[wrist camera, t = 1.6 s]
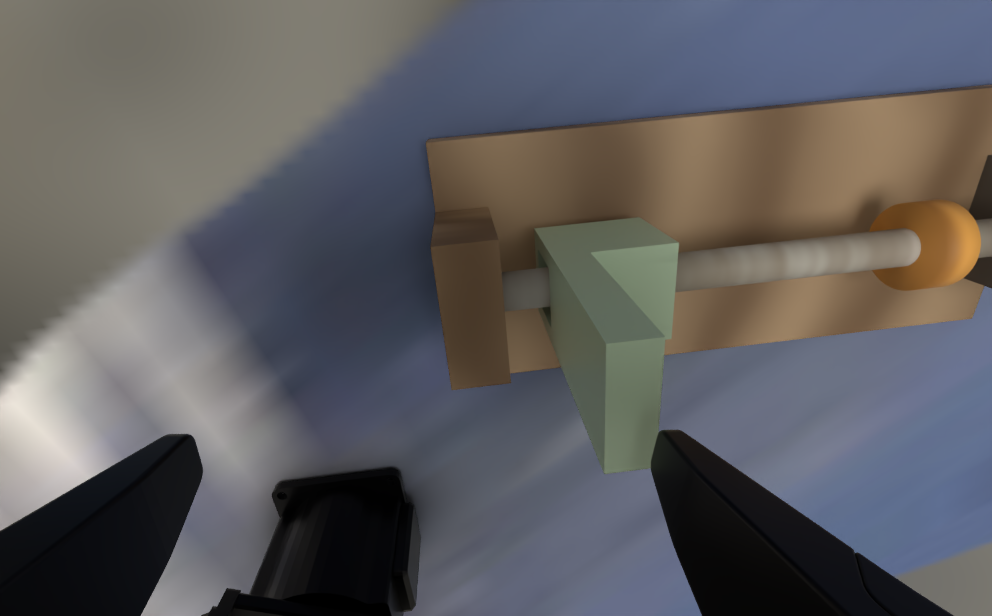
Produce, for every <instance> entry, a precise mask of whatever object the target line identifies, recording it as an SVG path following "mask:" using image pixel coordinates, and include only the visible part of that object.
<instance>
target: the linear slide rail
mask: <svg viewBox="0 0 992 616" xmlns="http://www.w3.org/2000/svg"><path fill="white" fill-rule="evenodd" d="M426 148H427V155H428V162H429V169H430V177H431V184H432V191H433V198H434V205H435V219H434V226H433V233H432V239H431V246H430V248H431V254H432V261H433V268H434V274H435V281H436V288H437V295H438V301H439V308H440V315H441V321H442V328H443V335H444V342H445V348H446V355H447V362H448V369H449V375H450V382H451V389H452V390H458V389H466V388H474V387H483V386H491V385H499V384H508V383H511V378H510V373H518V372H526V371H534V370H543V369H551V368H560V367H561V365H560V363H559V360H558V358H557V356H556V353H555V351H554V348H553V346H552V343H551V341H550V338H549V336H548V333H547V331H546V328H545V326H544V323H543V321H542V318H541V316H540V313H539V311H538V308H541V307H550V285H549V268H548V267H544V268H536V254H535V234H534V228H542V227H552V226H561V225H571V224H580V223H590V222H599V221H608V220H618V219H627V218H637V217H640V218H641V219H643V220H644V221H646V222H648V223H649V224H651V225H652V226H654V227H655V228H657V229H658V230H660V231H662V232H663V233H665V234H666V235H668V236H669V237H671V238H673V239H674V240H676V241H677V242H679V250H678V263H677V275H676V287H675V300H674V312H673V325H672V337H671V339H667V340H665V350H664V355H669V354H677V353H686V352H694V351H703V350H711V349H719V348H728V347H736V346H745V345H753V344H762V343H770V342H778V341H787V340H795V339H804V338H812V337H820V336H829V335H837V334H846V333H854V332H862V331H871V330H879V329H888V328H896V327H905V326H913V325H921V324H930V323H938V322H947V321H955V320H963V319H972V317H973V315H974V312H975V309H976V307H977V304H978V301H979V299H980V296H981V293H982V291H983V288H984V286H987V287H989V288H992V85H982V86H971V87H961V88H951V89H941V90H930V91H920V92H910V93H899V94H889V95H879V96H868V97H858V98H848V99H837V100H827V101H817V102H807V103H796V104H786V105H776V106H765V107H755V108H745V109H734V110H724V111H714V112H703V113H693V114H683V115H673V116H662V117H652V118H642V119H631V120H621V121H611V122H600V123H590V124H580V125H570V126H559V127H549V128H539V129H528V130H518V131H508V132H497V133H487V134H477V135H466V136H456V137H446V138H436V139H428V140H427V141H426Z"/></svg>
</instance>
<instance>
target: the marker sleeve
mask: <svg viewBox="0 0 992 616" xmlns="http://www.w3.org/2000/svg"><path fill="white" fill-rule="evenodd" d="M534 234H535V254H536V268H544V267H548V268H549V285H550V307H541V308H538V311H539V313H540V316H541V318H542V321H543V323H544V326H545V328H546V331H547V333H548V336H549V338H550V341H551V343H552V346H553V348H554V351H555V353H556V356H557V358H558V360H559V363H560V365H561V368H562V370H563V373H564V375H565V378H566V380H567V383H568V385H569V388H570V390H571V393H572V395H573V398H574V400H575V403H576V405H577V408H578V410H579V413H580V415H581V418H582V420H583V423H584V425H585V428H586V430H587V432H588V435H589V437H590V440H591V442H592V445H593V447H594V450H595V452H596V455H597V457H598V460H599V462H600V465H601V467H602V470H603V472H604V474H609V473H617V472H625V471H633V470H640V469H648V468H651V458H652V454H653V450H654V446H655V442H656V439H657V435H658V431H659V417H660V404H661V390H662V377H663V364H664V350H665V340H667V339H671V337H672V325H673V312H674V300H675V287H676V275H677V263H678V250H679V242H677V241H676V240H674V239H673V238H671V237H669V236H668V235H666V234H665V233H663V232H662V231H660V230H658V229H657V228H655V227H654V226H652V225H651V224H649V223H648V222H646V221H644V220H643V219H641V218H640V217H637V218H627V219H618V220H608V221H599V222H590V223H580V224H571V225H561V226H552V227H542V228H534Z"/></svg>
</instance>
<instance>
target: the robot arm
mask: <svg viewBox="0 0 992 616" xmlns="http://www.w3.org/2000/svg"><path fill="white" fill-rule="evenodd" d="M651 472H652V476H653V479H654V482H655V486H656V489H657V493H658V496H659V499H660V503H661V506H662V510H663V513H664V516H665V520H666V523H667V527H668V530H669V533H670V536H671V539H672V543H673V545H674V548H675V551H676V553H677V556H678V558H679V561H680V563H681V566H682V568H683V570H684V573H685V575H686V578H687V580H688V583H689V585H690V587H691V590H692V592H693V595H694V597H695V600H696V602H697V604H698V607H699V609H700V612H701V614H702V616H953V615H952V614H950V613H949V612H947V611H946V610H944V609H942V608H941V607H939V606H938V605H936V604H935V603H933V602H931V601H930V600H928V599H927V598H925V597H923V596H922V595H920V594H919V593H917V592H916V591H914V590H913V589H911V588H910V587H908V586H907V585H905V584H904V583H902V582H901V581H899V580H898V579H896V578H895V577H893V576H892V575H890V574H889V573H887V572H886V571H884V570H883V569H881V568H880V567H879V566H877V565H876V564H874V563H873V562H871V561H870V560H868V559H867V558H865V557H864V556H863V555H861V554H860V553H855V552H854V550H853V549H852V548H851V547H849V546H848V545H846V544H845V543H844V542H842V541H841V540H839V539H838V538H836V537H835V536H833V535H832V534H831V533H829V532H828V531H826V530H825V529H823V528H822V527H820V526H819V525H817V524H816V523H815V522H813V521H812V520H810V519H809V518H807V517H806V516H804V515H803V514H802V513H800V512H799V511H797V510H796V509H794V508H793V507H791V506H790V505H788V504H787V503H786V502H784V501H783V500H781V499H780V498H778V497H777V496H775V495H774V494H773V493H771V492H770V491H768V490H767V489H765V488H764V487H762V486H761V485H759V484H758V483H757V482H755V481H754V480H752V479H751V478H749V477H748V476H746V475H745V474H744V473H742V472H741V471H739V470H738V469H736V468H735V467H733V466H732V465H731V464H729V463H728V462H726V461H725V460H723V459H722V458H720V457H719V456H717V455H716V454H715V453H713V452H712V451H710V450H709V449H707V448H706V447H704V446H703V445H702V444H700V443H699V442H697V441H696V440H694V439H693V438H691V437H690V436H688V435H687V434H686V433H684V432H682V431H680V430H662V431H660V432H659V433H658V435H657V439H656V442H655V446H654V450H653V454H652V458H651ZM202 475H203V467H202V463H201V459H200V456H199V453H198V449H197V446H196V442H195V439H194V438H193V436H191V435H189V434H168V435H165V436H163V437H161V438H159V439H158V440H156V441H154V442H152V443H151V444H149V445H147V446H146V447H144V448H142V449H140V450H139V451H137V452H135V453H134V454H132V455H130V456H128V457H127V458H125V459H123V460H122V461H120V462H118V463H116V464H115V465H113V466H111V467H110V468H108V469H106V470H104V471H103V472H101V473H99V474H97V475H96V476H94V477H92V478H91V479H89V480H87V481H85V482H84V483H82V484H80V485H79V486H77V487H75V488H73V489H72V490H70V491H68V492H66V493H65V494H63V495H61V496H60V497H58V498H56V499H54V500H53V501H51V502H49V503H48V504H46V505H44V506H42V507H41V508H39V509H37V510H36V511H34V512H32V513H30V514H29V515H27V516H25V517H23V518H22V519H20V520H18V521H17V522H15V523H13V524H11V525H10V526H8V527H6V528H5V529H3V530H1V531H0V616H141V614H142V612H143V610H144V608H145V606H146V604H147V602H148V600H149V598H150V596H151V594H152V593H153V591H154V589H155V587H156V585H157V583H158V581H159V579H160V577H161V575H162V573H163V571H164V569H165V567H166V565H167V563H168V561H169V559H170V557H171V554H172V552H173V550H174V547H175V545H176V542H177V540H178V537H179V535H180V532H181V530H182V527H183V525H184V522H185V520H186V517H187V515H188V512H189V510H190V507H191V505H192V502H193V500H194V497H195V495H196V492H197V490H198V487H199V485H200V482H201V479H202ZM389 478H391V479H394V480H389ZM281 492H284V493H286V494H283V493H281ZM272 498H273V501H274V503H275V506H276V509H277V511H278V514H279V516H280V520H279V522H278V525H277V527H276V530H275V532H274V535H273V537H272V540H271V542H270V544H269V547H268V549H267V552H266V554H265V557H264V559H263V562H262V564H261V566H260V569H259V571H258V574H257V576H256V579H255V581H254V584H253V586H252V588H251V591H250V593H249V594H244V593H240V592H241V590H235V589H229V588H227V589H226V591H225V593H224V595H223V597H222V599H221V600H220V602H219V604H218V606H217V607H214V606H213V607H212V609H211V611H210V612H209V613H206V614H204V615H201V616H403V614H404V612H406V611H412V609H413V608H414V607H415V605H416V597H417V583H418V569H419V555H420V541H421V536H420V531H419V526H418V522H417V517H416V512H415V508H414V505H413V504H411V503H410V502H409V503H407V500H406V495H405V491H404V486H403V482H402V477H401V474H400V472H398V471H397V470H394V469H387V470H379V471H371V472H363V473H355V474H347V475H339V476H332V477H324V478H316V479H308V480H300V481H292V482H284V483H279V484H277V485H276V486H275V489H274V491H273V493H272Z"/></svg>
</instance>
